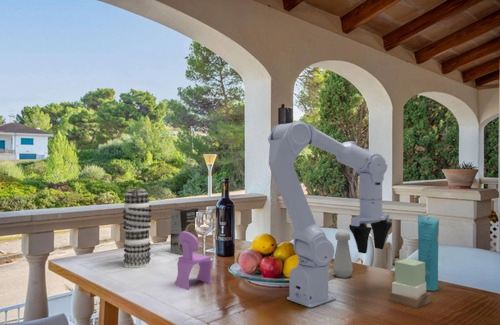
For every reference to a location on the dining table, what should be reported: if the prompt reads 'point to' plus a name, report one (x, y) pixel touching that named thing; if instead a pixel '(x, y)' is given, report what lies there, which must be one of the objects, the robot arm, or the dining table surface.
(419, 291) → the cream slab
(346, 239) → the salt shaker
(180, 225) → the coffee box
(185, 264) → the toy chair
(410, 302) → the walnut slab
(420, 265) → the sage cube
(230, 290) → the dining table surface
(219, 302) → the dining table surface
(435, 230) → the tube
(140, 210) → the decorative candle
